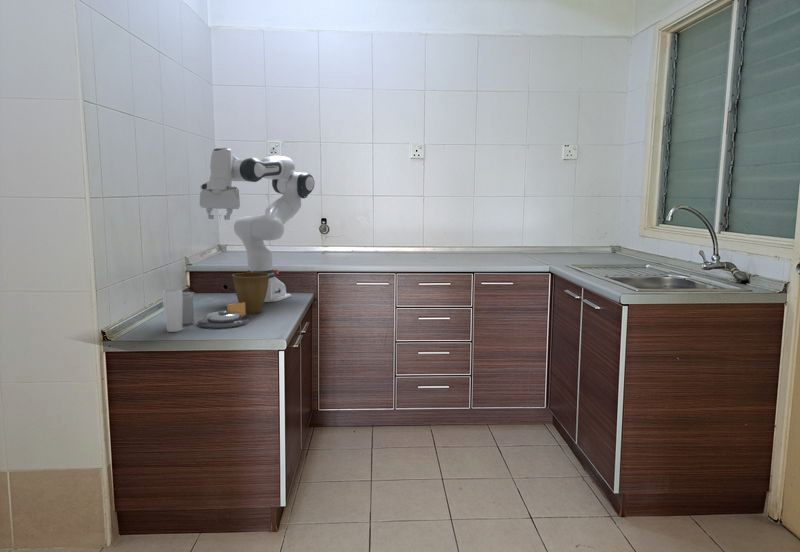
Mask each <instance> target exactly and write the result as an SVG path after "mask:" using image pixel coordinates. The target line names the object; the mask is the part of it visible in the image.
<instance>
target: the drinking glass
mask: <svg viewBox="0 0 800 552" xmlns="http://www.w3.org/2000/svg"><path fill="white" fill-rule="evenodd" d="M183 292H184V291H183V289H182V288H167V289H163V290H162V302H163V303H162V305H163V311H164V316H165V323H166V331H167V332H169V333H178V332H181V331H182V330H183V325H182V317H183Z"/></svg>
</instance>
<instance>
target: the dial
mask: <svg viewBox="0 0 800 552" xmlns="http://www.w3.org/2000/svg"><path fill="white" fill-rule="evenodd" d="M226 306H227V307H226V308H227V310H219V311H214V312H209V313H207V314H206V317H207V321H209V322H214V323H224V322H232V321H236V320H239V319H240V316H242V315H244V316H246V315H247V313H246V312H245V302H239V301H238V302H233V303H228V304H227V305H226Z"/></svg>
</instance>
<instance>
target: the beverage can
mask: <svg viewBox="0 0 800 552" xmlns="http://www.w3.org/2000/svg"><path fill="white" fill-rule="evenodd" d="M182 292H183V317H182V326H189V325H191V324H192V325H193V323H194V322H195V312H194V310H195V309H194V296H193V293H192V292H191V291H182Z"/></svg>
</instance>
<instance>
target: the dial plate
mask: <svg viewBox="0 0 800 552" xmlns="http://www.w3.org/2000/svg"><path fill="white" fill-rule="evenodd" d="M249 323H250V318H249V316H246V315H242V316H240V319H239V320H236V321H232V322H224V323H214V322H209V321H207V316H205V317H203V318H200V319H198V320H197V326H198V327H199V328H203V329H209V328H211V329H213V330H218V329H221V330H223V329H222V328H224V329H230V328H231V329H233V328H238V327H242V326H246V325H248V324H249Z"/></svg>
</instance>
